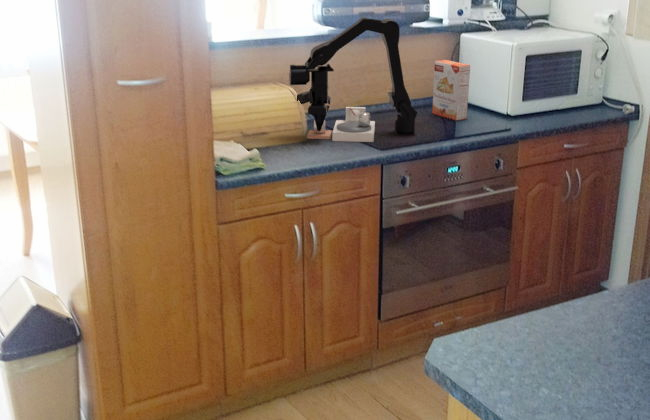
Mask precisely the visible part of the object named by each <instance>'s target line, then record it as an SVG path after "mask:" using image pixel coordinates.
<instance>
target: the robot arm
mask: <svg viewBox="0 0 650 420" xmlns="http://www.w3.org/2000/svg"><path fill="white" fill-rule="evenodd" d="M366 31H369V32H374V33H378V34H380V36H381V37H380V38H382V39H381V40H382V42H383V44H384V46H385V49H386V57H387V62H388V63H387V64H388V68H389V73H390V74H389V75H390V80H391V91H390V92H389V91H388V92H387V95H388V97H389V102H388V103H389V104H390V105H391V106H392V108H393V109H394V110H395V112H396V118H395V124H394V125H395V126H394V130H395V131H394V132H395V133H396V135H408V136H410V135H411V136H415V135H416V130H415V129H416V128H415V127H416V119H417V115H418V111H417V110H416V109H415V108H414V107H413V106H412V102H411V99H410V96H409V93H408V92H407V89H406V86H405V82H404V75H403V69H402V62H401V57H400V49H399V43H400V25H399V24H398V22H396V21H395V20H393V19H391V18H385V19H382V20H379V19H374V18H368V17H366V16H363V17H360V18H359V19H358V20H357V21H356V22H354V23H353V24H351V25H350V26H349V27H347V28H346V29H344V30H343V31H342V32H341V33H339V34H337V35H336V36H334V37H333V38H332V39H330V40H328V41H325V42H322V43H320V44H318V45H316V46H314V47H312V48H311V50H310V53H309V57H308V59H307V60H306V61H305V63H304V64H297V65H296V64H289V73H288V83H289V86H307V84H308V83H310V85H311V86H310V89H309V90H308V91H304V92H300V93H298V94H296V95H297V101H298V100H299V101H300V103H301V104H302V105H305V104H307V103H309V106H308V107H307V114H308V115H311V116H312V117H313V118H314V120H315V123H316V127H317V131H321V128H322V125H323V123H324V120H325V119H326V117H327V116H328V112H329V109H330V105H331V102H332V101H331V97H330V95H329V72H334V71H335V70H334V68H333V67H332V66H331V65H330V64H329V61H330V60H332V58H333V57H334V56H335V54H336V53H337V52H338V51H340V49H342V48H344V47H345V46H346V45H348V44H349V43H351V42H352V41H353V40H355V39H356V38H358V37H359V36H360V35H362V34H364V33H365V32H366ZM326 104H328V105H326ZM325 121H326V120H325Z"/></svg>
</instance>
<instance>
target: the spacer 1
mask: <svg viewBox="0 0 650 420" xmlns="http://www.w3.org/2000/svg"><path fill="white" fill-rule="evenodd" d="M313 130H314V134H325V130H326V120H324V123H323V125H322V128H321V131H317V127H316V123H315V119H314V120H313Z"/></svg>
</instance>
